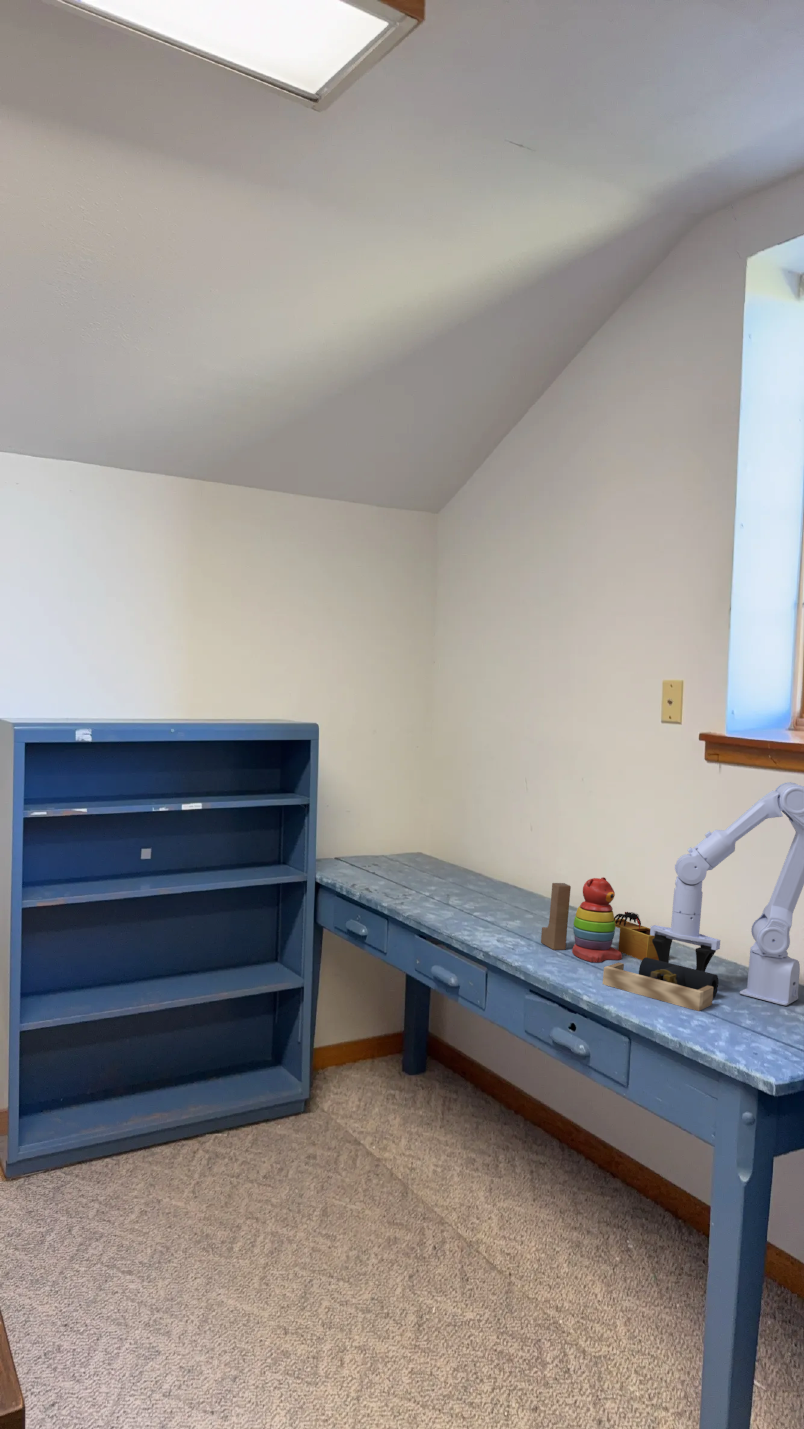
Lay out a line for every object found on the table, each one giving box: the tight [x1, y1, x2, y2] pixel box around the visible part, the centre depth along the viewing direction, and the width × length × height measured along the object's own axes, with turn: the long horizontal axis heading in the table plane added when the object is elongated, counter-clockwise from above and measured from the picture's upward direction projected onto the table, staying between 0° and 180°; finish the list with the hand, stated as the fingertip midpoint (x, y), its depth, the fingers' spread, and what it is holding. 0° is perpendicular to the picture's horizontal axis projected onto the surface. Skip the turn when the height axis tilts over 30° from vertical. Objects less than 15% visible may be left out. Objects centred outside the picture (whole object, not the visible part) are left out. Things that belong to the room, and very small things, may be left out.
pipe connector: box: [638, 957, 719, 999], centre depth 192 cm, size 12×5×15 cm
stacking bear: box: [571, 876, 623, 963], centre depth 216 cm, size 11×10×18 cm
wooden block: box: [540, 882, 572, 951], centre depth 222 cm, size 7×3×15 cm, turn 18°
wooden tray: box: [602, 962, 714, 1012], centre depth 189 cm, size 20×6×4 cm, turn 50°
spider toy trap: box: [614, 911, 659, 961], centre depth 223 cm, size 6×15×9 cm, turn 30°
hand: (681, 976), depth 198 cm, fingers open, 7 cm apart
